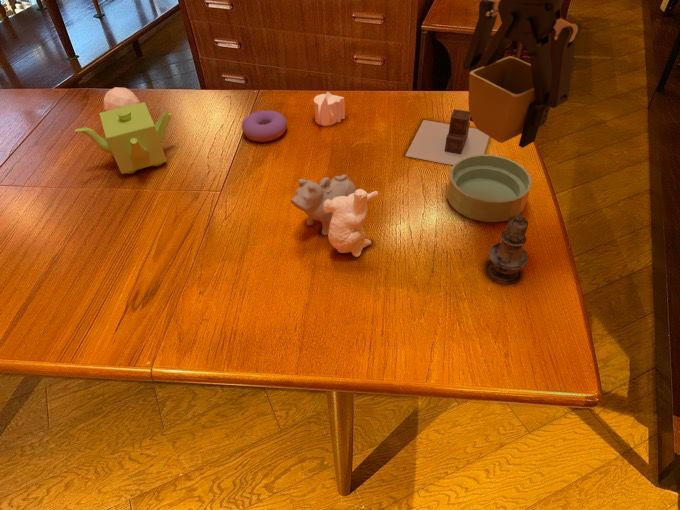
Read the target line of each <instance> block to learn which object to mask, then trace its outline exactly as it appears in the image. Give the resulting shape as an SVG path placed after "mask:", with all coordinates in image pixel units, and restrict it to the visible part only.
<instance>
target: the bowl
mask: <svg viewBox="0 0 680 510" xmlns="http://www.w3.org/2000/svg"><path fill="white" fill-rule="evenodd" d="M526 169H527V168H525V167H524V166H522V165H521V164H520V163H518V162H517V161H515V160H513V159H511V158H507V157H505V156H500V155H495V154H486V153H484V154H479V155H472V156H468V157H465V158H463V159H460V160H459V161H457V162H456V163H455V164H454V165H452V166H451V168H450V169H449V174H448V180H447V185H446V186H447V187H446V199H447V201H448V202H449V205H450V206H451V207H452V208H453V209H454V210H455V211H456V212H458V213H459V214H461V215H463V216H464V217H467V218H469V219H471V220H475V221H479V222H483V223H501V222H508V220H509V218H510V217H512V216H515V215H518V214H520V213H521V214H522V213H523V211H524V210H525V207H526V205H527V204H526V203H527V201H528V198H529V195H530V192H531V189H532V184H533V181H532V177H531V174H530V173H529V172H528V170H526Z"/></svg>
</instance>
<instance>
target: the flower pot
mask: <svg viewBox="0 0 680 510" xmlns="http://www.w3.org/2000/svg"><path fill="white" fill-rule="evenodd" d="M468 76H469V77H468V101H467V102H468V104H467V105H468V111H470V115H471V118H472V120H473V122H472V123H473V124H474V126H475V128H476V129H478V130H480V131H481V132H483V133H485V134H486V135H488V136H490V137H489V138H491V139H493V140H494V141H496V142H497V143H500V144H503V143H505V142H507V141H509V140H512V139H513V138H515V137H518V136H521V135H522V131H523V127H524V123H525V120H526V116H527V112H528V109H529V105H530V104H531V103H533V102H535V101H536V100H535V92H534V85H533V77H532V69H531V63H529V62H527V61H524V60H522V59H520V58H518V57H515V56H512V55H509V56H506V57H503V58H501V59H498V60H497V61H496V62H494V63H492V64H490V65H488V66H485V67H484V66H483V67H480V68H478V69H475V70H473V71H469V75H468Z"/></svg>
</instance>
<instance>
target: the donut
mask: <svg viewBox="0 0 680 510" xmlns="http://www.w3.org/2000/svg"><path fill="white" fill-rule="evenodd" d="M287 127H288V120H287V118H286V117H285V116H284V115H283V114H282V113H280V112H279V111H275V110H272V109H271V110H269V109H267V110H266V109H264V110H259V111H255V112H251V113H250V114H248V115H247V116H245V117H244V119H243V120H242V122H241V130H242V132H243V135H245V137H246V138H247V139H249V140H250V141H251V140H252V141H254V142H262V143H263V142H264V143H265V142H270V141H274V140H276V139H278V138H280V137H281V136H283V135H284V134H285V132H286V131H287Z"/></svg>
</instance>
